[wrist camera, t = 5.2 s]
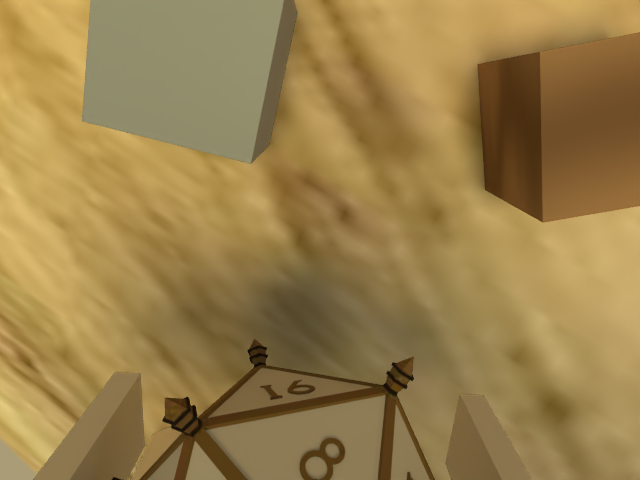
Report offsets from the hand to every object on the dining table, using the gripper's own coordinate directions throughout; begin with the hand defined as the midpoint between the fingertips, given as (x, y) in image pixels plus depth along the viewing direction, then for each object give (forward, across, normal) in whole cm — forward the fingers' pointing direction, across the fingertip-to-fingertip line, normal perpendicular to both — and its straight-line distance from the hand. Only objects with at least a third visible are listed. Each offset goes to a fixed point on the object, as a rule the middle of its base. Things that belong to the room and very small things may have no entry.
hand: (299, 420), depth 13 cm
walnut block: (+7, -9, -10) cm, 15 cm away
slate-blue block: (+7, +4, -11) cm, 13 cm away
